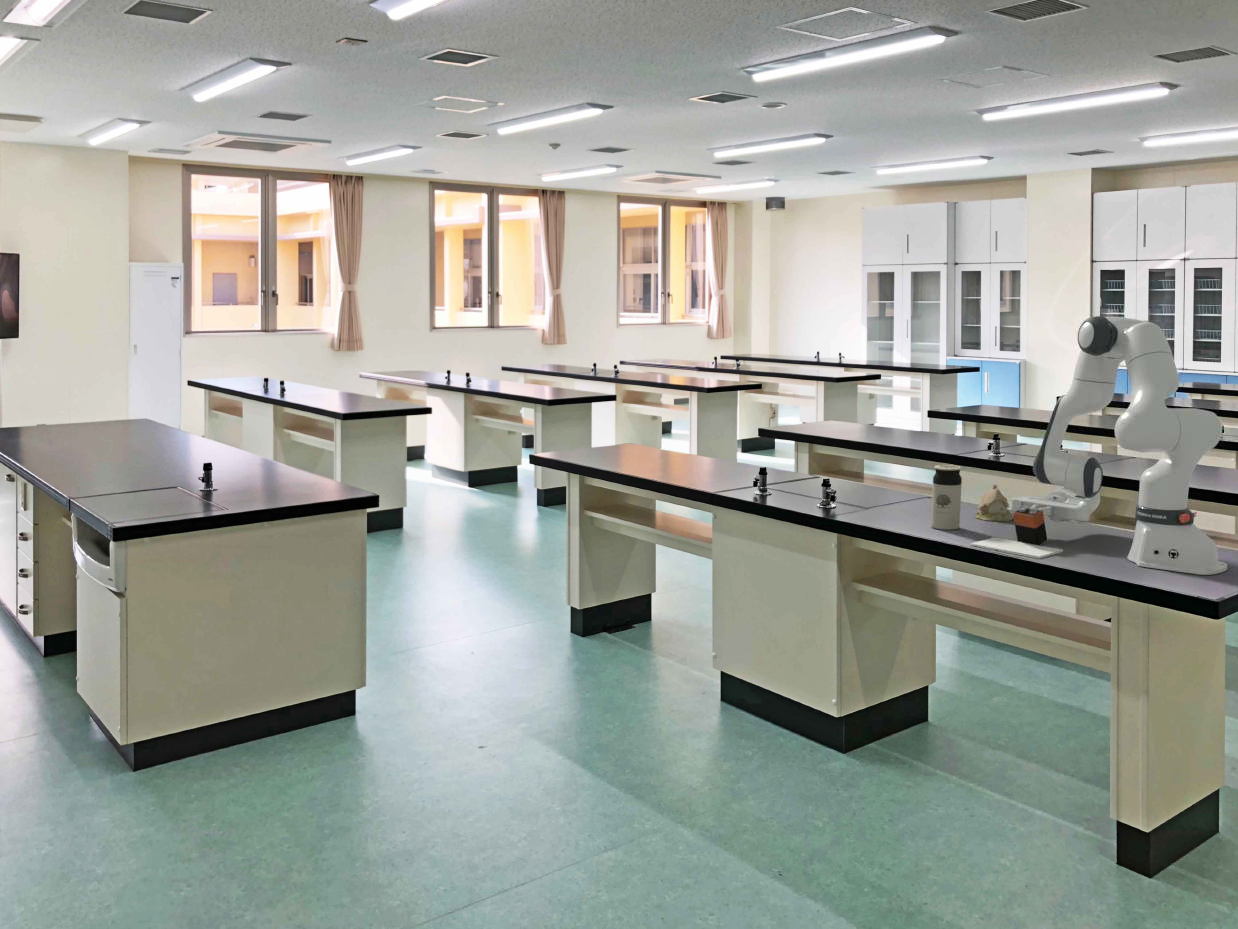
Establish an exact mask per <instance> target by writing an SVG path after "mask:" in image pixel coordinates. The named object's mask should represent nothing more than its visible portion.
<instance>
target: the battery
mask: <svg viewBox="0 0 1238 929" xmlns="http://www.w3.org/2000/svg"><path fill="white" fill-rule="evenodd" d="M1012 515H1013V517H1014V518H1013V520H1014V521H1013V522H1014V527H1015V534H1016V539H1017V540H1016V541H1017V542H1023V543H1028V544H1034V545H1039V546H1042V544H1044V543H1046V542H1047V541H1048V537H1047V536H1048V535H1047V530H1046V524H1045V523H1046V522H1045V516H1044V515H1043V511H1041V510H1036V509H1030V508H1026V507H1025V506H1020V507H1019V508H1018V510H1017V511H1013V512H1012Z"/></svg>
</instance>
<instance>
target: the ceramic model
mask: <svg viewBox="0 0 1238 929" xmlns="http://www.w3.org/2000/svg"><path fill="white" fill-rule="evenodd" d="M980 499H981V502H980V503H979V504H978V506H977V508H978V511H977V512H976V514H975V519H978V520H983V521H988V522H1009V521H1012V519H1013V520H1014V517H1013V512H1012V513H1011V512H1010V511H1009V509H1008V508H1010V504H1009V502H1008V499H1007V497H1006V496H1004V495H1003V493H1002V492H1001V491H1000V489H998V485H997V484H993V485H992V486H991V487H990V488H989V489H988V490H986V492H984V494H983V495H982V496H981V498H980Z"/></svg>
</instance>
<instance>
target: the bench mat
mask: <svg viewBox="0 0 1238 929" xmlns="http://www.w3.org/2000/svg"><path fill="white" fill-rule="evenodd" d="M969 546H971V547H974V546H977V547H976V548H980V547H981V549H985V548H986V549H985V550H990V549H993V550H992V551H995V550H998V551H997V552H1001V553H1007V554H1013V555H1018V556H1023V557H1028V558H1032V559H1033V558H1034V559H1038V560H1039V559H1044V558H1046V557H1050V556H1054V555H1057V554H1060V553H1063V552H1064V549H1062V548H1054V547H1049V546H1043V545H1040V546H1039V545H1034V544H1028V543H1023V542H1018V541H1017V540H1011V539H1005V538H999V537H995V536H994V537H990V538H986V539H982V540H979V541H975V542H971V543H969Z"/></svg>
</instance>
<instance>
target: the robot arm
mask: <svg viewBox="0 0 1238 929" xmlns="http://www.w3.org/2000/svg"><path fill="white" fill-rule="evenodd" d="M1077 344H1078V346H1079V349H1080V352H1079V354H1078V356H1077V360H1076V364H1075V366H1074V367H1075V368H1074V371H1073V378H1072V383H1071V385H1070V386H1069V387H1070V388H1069V389H1068V390H1067V392H1066V393H1065V394H1064V395H1063V394H1062V395H1061V396H1060V397H1059V398H1058V399H1057V402H1056V404H1055V405H1054V407H1053V411H1052V414H1051V416H1050V419H1049V422H1048V425H1047V428H1046V430H1045V434H1044V436H1043V439H1042V442H1041V446H1040V448H1039V450H1038V452H1037V454H1036V455H1035V459H1034V460H1033V464H1032V472H1033V474H1034V475H1035V477H1036V479H1037V480H1038V481H1039V483H1041V484H1045V485H1055V486H1060V487H1063V488H1061V489H1057V490H1056V489H1055V490H1052V491H1050V492H1048V493H1047V494H1046V495H1045V496H1044V497H1043V498H1042V497H1036V496H1027V495H1026V496H1018V497H1013V498H1012V499H1011V504H1010V506H1011V507H1010V508H1011V510H1012V511H1013V512H1016V511H1017V510H1018V508H1019V507H1020V506H1025V507H1026V508H1030V509H1036V510H1041V511H1043V515H1044V517H1047V518H1048V519H1050V520H1051V521H1053V522H1057V523H1061V522H1071V521H1072V522H1081V523H1082V522H1083V523H1085V522H1089V521H1090V518H1091V514H1093V512H1095V510H1097V508H1098V507H1099V505H1100V504H1101V496H1100V495H1101V494H1100V490H1101V488H1102V484H1103V480H1104V471H1103V469H1102V465H1101V464H1100V462H1099V461H1098V459H1097V458H1095V457H1092V456H1089V455H1088V456H1087V455H1082V454H1076V453H1071V452H1067V451H1062V450H1061V446H1062V443H1063V441H1064V437H1065V434H1066V432H1067V429H1068V425H1070V422H1071V421H1072V420H1073V419H1075V418H1076V417H1079V416H1083V415H1087V414H1091V413H1096V412H1099V411H1101V410H1102V409H1105V408H1106V407H1107V406H1108V405H1109V404H1111V402H1112V400H1113V397H1114V395H1115V390H1116V384H1117V376H1118V370H1119V369H1118V368H1119V366H1120V365H1121V363H1122V362H1124V361H1125V362H1124V363H1125V366H1126V369H1127V370H1126V371H1127V374H1128V378H1129V383H1130V389H1131V400H1130V404H1129V405H1128V407H1127V409H1126V410H1125V411H1124V412H1122V413H1121V414H1120V415H1119V417H1118V418H1117V419H1116V422H1115V425H1114V437H1115V439H1116V441H1117V443H1118V445H1119V446H1120V447H1121V448H1122V449H1124V450H1127V451H1133V452H1139V453H1162V454H1161V457H1160V458H1159V460H1158V461H1157V462H1156V463H1155V464H1154V465H1153V466H1151V467H1148V468H1146V469H1144V471H1143V472H1142V473H1141V475H1140V478H1139V486H1138V487H1139V488H1138V490H1139V491H1138V502H1137V504H1136V505H1135V512H1134V513H1135V514H1134V525H1135V529H1134V530H1135V531H1134V534H1133V535H1134V536H1133V538H1132V539H1133V540H1132V543H1131V546H1130V550H1129V552H1128V555H1127V557H1126V558H1127V559H1128V560H1129V561H1131V562H1133V563H1135V564H1136V565H1137V566H1139V567H1144V568H1148V569H1149V568H1150V569H1158V570H1165V571H1170V572H1172V571H1173V572H1177V573H1178V572H1179V573H1184V574H1185V573H1186V574H1193V575H1201V576H1209V575H1217V574H1221V573H1223V572H1225V571H1227V570H1228V564H1227V563H1226V562H1223V561H1219V553H1218V548H1217V544H1216V542H1215V541H1214V540H1213V539H1211V538H1210V537H1209V536H1208V534H1205V533H1204V532H1203V531H1202V530H1201V529H1200V528H1199V527H1197V526H1196V525H1195V524H1194V523H1195V520H1194V519H1195V518H1196V517H1197V513H1198V512H1197V511H1196V512H1192V511H1191V510H1190V509H1189V508H1188V499H1189V489H1190V484H1191V478H1192V476H1193V473H1194V470H1195V468H1196V466H1197V465H1198V463H1199V462H1200V460H1201V459H1202V458H1203V457H1204V455H1205V454H1207V453H1208V452H1209V451H1210V450H1212V449H1213V448H1215V447H1216V446H1217V444H1219V441H1221V438H1222V434H1223V427H1222V423H1221V422H1222V421H1220V418H1219V417H1218V415H1217V414H1216V413H1215V412H1213V411H1209V410H1205V409H1200V408H1192V407H1191V408H1189V407H1187V408H1185V407H1182V408H1179V407H1178V408H1177V407H1175V408H1174V407H1173V408H1171V407H1167V405H1166V402H1165V400H1167V399H1169V398H1170V397H1171V396H1172V395H1175V393H1176V392H1177V390H1178V388H1179V385H1180V377H1179V374H1178V370H1177V367H1176V362H1175V359H1174V356H1173V353H1172V349H1171V346H1170V344H1169V340H1168V339H1167V337H1166V336H1165V334H1164V332H1163V330H1162V327H1160V325H1158V324H1157V323H1155V322H1152V321H1149V320H1145V319H1141V320H1140V319H1135V318H1130V317H1129V318H1128V317H1125V316H1103V315H1097V316H1090V317H1087V318H1086V319H1085V320H1084V321H1083V322H1082V323H1081V325H1080V326H1079V329H1078V331H1077Z"/></svg>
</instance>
